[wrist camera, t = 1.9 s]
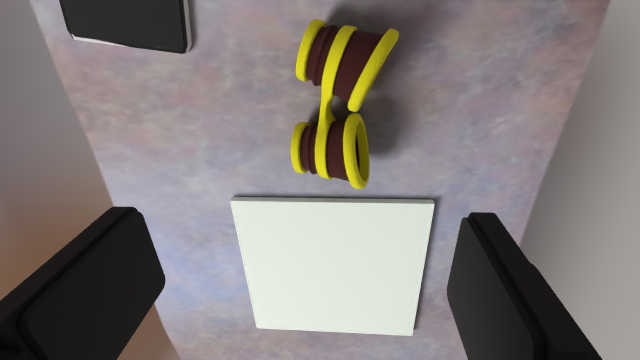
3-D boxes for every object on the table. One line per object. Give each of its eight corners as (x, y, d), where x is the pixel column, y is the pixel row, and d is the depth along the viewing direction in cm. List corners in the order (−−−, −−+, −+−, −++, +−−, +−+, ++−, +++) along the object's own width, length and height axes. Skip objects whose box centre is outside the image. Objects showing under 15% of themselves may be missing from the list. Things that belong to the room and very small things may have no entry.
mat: (232, 196, 26) (230, 200, 26) (432, 199, 25) (434, 203, 24) (258, 322, 34) (256, 328, 34) (411, 330, 33) (412, 335, 32)
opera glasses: (317, 15, 20) (289, 18, 16) (402, 27, 19) (396, 33, 15) (305, 154, 25) (281, 185, 21) (372, 169, 24) (361, 204, 20)
